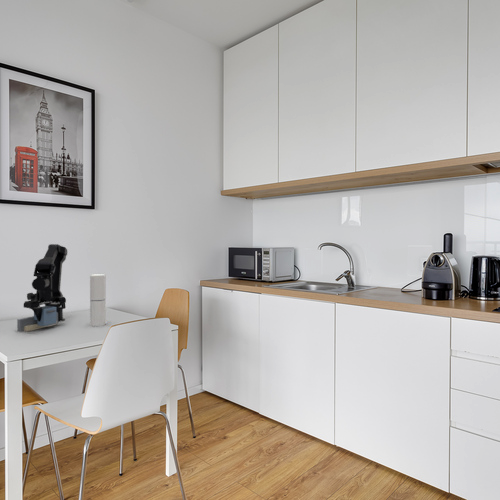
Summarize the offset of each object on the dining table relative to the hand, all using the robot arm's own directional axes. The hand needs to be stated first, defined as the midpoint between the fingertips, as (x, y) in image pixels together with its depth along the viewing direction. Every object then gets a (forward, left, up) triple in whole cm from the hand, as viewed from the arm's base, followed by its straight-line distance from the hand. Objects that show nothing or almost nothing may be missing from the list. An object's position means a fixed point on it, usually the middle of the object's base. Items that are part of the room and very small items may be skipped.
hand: (45, 319), depth 187 cm
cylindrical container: (-17, +16, -4) cm, 24 cm away
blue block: (0, 0, -2) cm, 2 cm away
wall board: (0, -5, -4) cm, 6 cm away
